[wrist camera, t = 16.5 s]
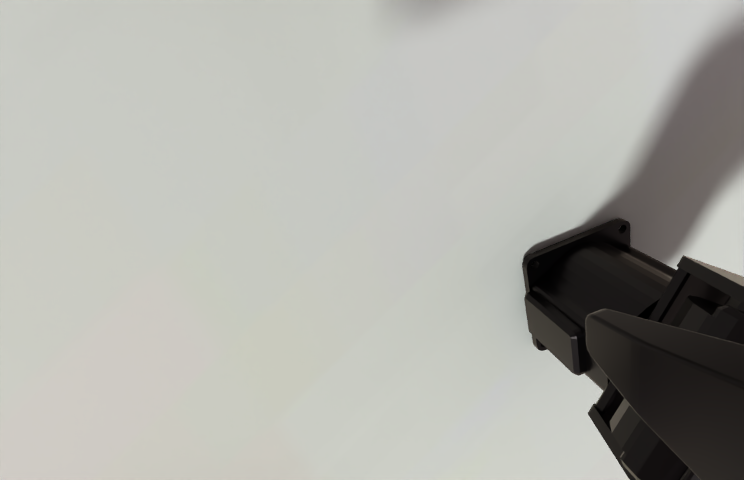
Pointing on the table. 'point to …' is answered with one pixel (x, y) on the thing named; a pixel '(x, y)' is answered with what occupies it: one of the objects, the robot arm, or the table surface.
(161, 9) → the table surface
